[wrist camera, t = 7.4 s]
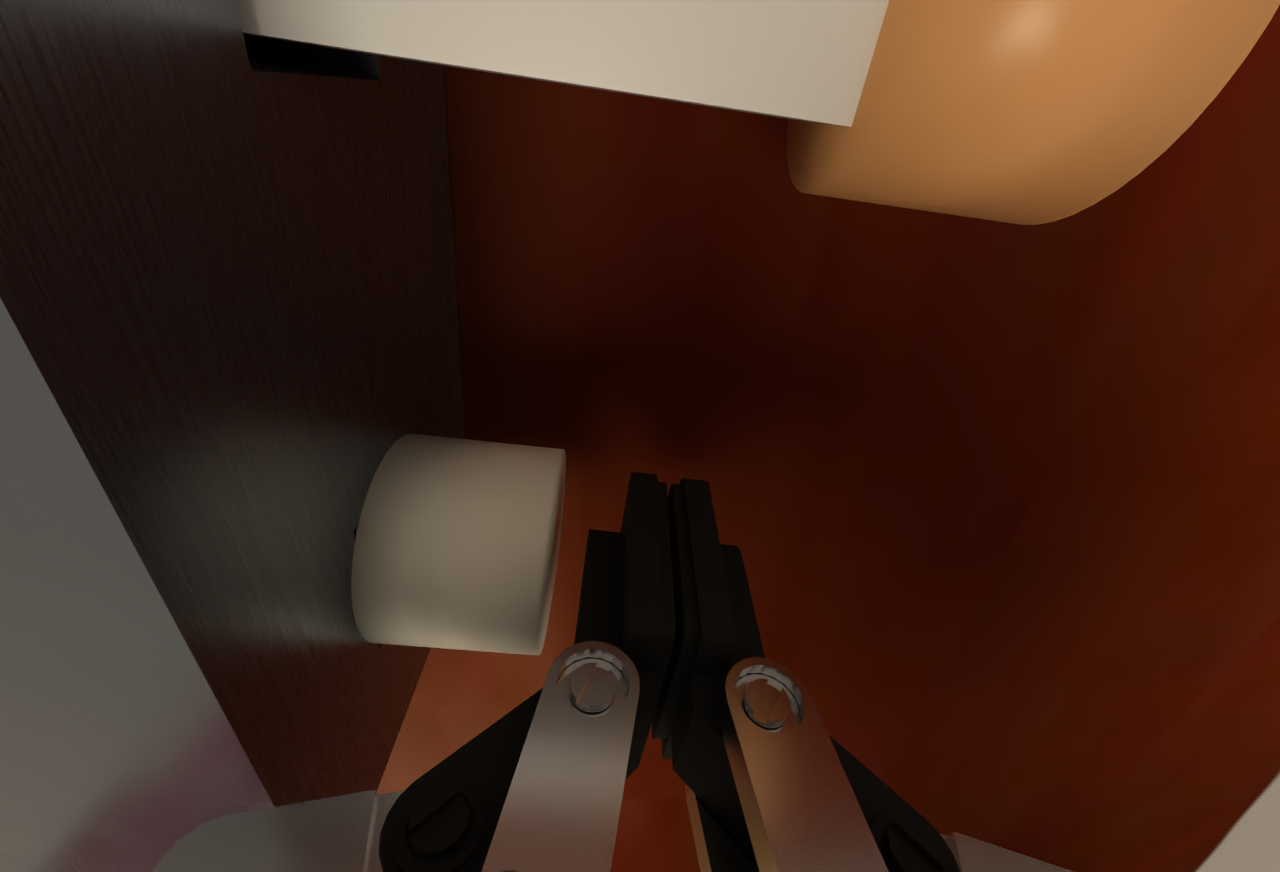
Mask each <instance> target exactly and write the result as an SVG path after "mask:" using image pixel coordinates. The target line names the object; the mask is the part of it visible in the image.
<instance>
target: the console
mask: <svg viewBox="0 0 1280 872" xmlns="http://www.w3.org/2000/svg"><path fill="white" fill-rule="evenodd" d="M407 434H421V435H431V436H440V437H450V438H460V439H465V422H464V405H463V388H462V372H461V355H460V338H459V321H458V304H457V288H456V271H455V254H454V237H453V220H452V204H451V187H450V170H449V153H448V136H447V120H446V103H445V86H444V69H443V65H438V64H432V63H425V62H419V61H412V60H406V59H399V58H393V57H387V56H380V55H374V54H367V53H361V52H354V51H348V50H342V49H335V48H329V47H322V46H316V45H309V44H303V43H296V42H290V41H284V40H277V39H271V38H264V37H258V36H251V35H245V34H243V32H242V27H241V23H240V18H239V14H238V9H237V5H236V0H0V872H153V870H154V868H155V867H156V865H157V863H158V862H159V860H160V859H161V858H162V857H163V856H164V855H165V854H166V853H167V851H168V850H169V849H170V848H171V847H172V846H173V845H174V844H175V843H176V842H177V841H178V840H179V839H180V838H182V837H183V836H185V835H186V834H188V833H189V832H191V831H192V830H194V829H195V828H197V827H198V826H200V825H201V824H203V823H205V822H208V821H211V820H214V819H217V818H220V817H223V816H226V815H231V814H237V813H242V812H248V811H254V810H260V809H265V808H271V807H277V806H283V805H289V804H294V803H300V802H306V801H312V800H317V799H323V798H329V797H335V796H341V795H346V794H352V793H358V792H364V791H370V790H375V789H376V792H377V789H378V786H379V784H380V781H381V778H382V776H383V773H384V770H385V768H386V765H387V762H388V760H389V757H390V754H391V752H392V749H393V746H394V744H395V741H396V739H397V736H398V733H399V731H400V728H401V725H402V723H403V720H404V717H405V715H406V712H407V709H408V707H409V704H410V701H411V699H412V696H413V693H414V691H415V688H416V685H417V683H418V680H419V677H420V675H421V672H422V670H423V667H424V664H425V662H426V659H427V656H428V654H429V651H430V648H431V647H419V646H406V645H392V644H379V643H370V642H368V641H366V640H365V639H364V638H363V637H362V636H361V634H360V632H359V630H358V628H357V625H356V622H355V618H354V613H353V608H352V597H351V574H352V561H353V552H354V545H355V535H354V530H355V528H356V527H357V525H358V524H359V520H360V516H361V512H362V509H363V505H364V502H365V498H366V496H367V493H368V490H369V487H370V484H371V482H372V480H373V477H374V475H375V473H376V471H377V469H378V467H379V465H380V463H381V461H382V459H383V458H384V456H385V455H386V453H387V452H388V450H389V449H390V448H391V446H392V445H393V444H394V443H395V442H396V441H397V440H398V439H399V438H401V437H403V436H404V435H407Z"/></svg>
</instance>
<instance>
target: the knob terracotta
mask: <svg viewBox="0 0 1280 872" xmlns="http://www.w3.org/2000/svg"><path fill="white" fill-rule="evenodd" d="M236 5H237V9H238V14H239V18H240V23H241V27H242V32H243V34H245V35H251V36H258V37H264V38H271V39H277V40H284V41H290V42H296V43H303V44H309V45H316V46H322V47H329V48H335V49H342V50H348V51H354V52H361V53H367V54H374V55H380V56H387V57H393V58H399V59H406V60H412V61H419V62H425V63H432V64H438V65H445V66H451V67H457V68H464V69H470V70H477V71H483V72H490V73H496V74H503V75H509V76H515V77H522V78H528V79H535V80H541V81H548V82H554V83H561V84H567V85H573V86H580V87H586V88H593V89H599V90H606V91H612V92H618V93H625V94H631V95H638V96H644V97H651V98H657V99H664V100H670V101H676V102H683V103H689V104H696V105H702V106H709V107H715V108H722V109H728V110H734V111H741V112H747V113H754V114H760V115H767V116H773V117H779V118H786V119H788V120H787V163H788V169H789V174H790V178H791V181H792V183H793V185H794V186H795V188H796V189H797V190H798V191H799V192H802V193H806V194H813V195H820V196H827V197H834V198H841V199H848V200H855V201H861V202H868V203H875V204H882V205H889V206H896V207H903V208H910V209H917V210H924V211H931V212H937V213H944V214H951V215H958V216H965V217H972V218H979V219H986V220H993V221H1000V222H1006V223H1013V224H1020V225H1038V224H1043V223H1049V222H1054V221H1057V220H1060V219H1062V218H1065V217H1068V216H1071V215H1074V214H1076V213H1078V212H1080V211H1082V210H1084V209H1086V208H1088V207H1090V206H1092V205H1094V204H1095V203H1097V202H1099V201H1100V200H1102V199H1104V198H1105V197H1107V196H1108V195H1110V194H1112V193H1113V192H1115V191H1116V190H1118V189H1119V188H1120V187H1122V186H1123V185H1124V184H1126V183H1127V182H1129V181H1130V180H1131V179H1133V178H1134V177H1135V176H1137V175H1138V174H1139V173H1140V172H1142V171H1143V170H1144V169H1145V168H1146V167H1147V166H1149V165H1150V164H1151V163H1152V162H1153V161H1154V160H1155V159H1157V158H1158V157H1159V156H1160V155H1161V154H1162V153H1164V152H1165V151H1166V150H1167V149H1168V148H1169V147H1170V146H1171V145H1172V144H1173V143H1174V142H1175V141H1176V140H1177V139H1178V138H1179V137H1180V136H1181V135H1182V134H1183V133H1184V132H1185V131H1186V130H1187V129H1188V128H1189V127H1190V126H1191V125H1192V124H1193V122H1194V121H1195V120H1196V119H1197V118H1198V117H1199V116H1200V114H1201V113H1202V112H1203V111H1204V110H1205V109H1206V108H1207V106H1208V105H1209V104H1210V103H1211V102H1212V101H1213V100H1214V98H1215V97H1216V96H1217V95H1218V94H1219V93H1220V91H1221V90H1222V89H1223V87H1224V86H1225V85H1226V83H1227V82H1228V81H1229V80H1230V78H1231V77H1232V76H1233V74H1234V73H1235V72H1236V70H1237V69H1238V68H1239V66H1240V65H1241V64H1242V63H1243V61H1244V60H1245V58H1246V57H1247V55H1248V54H1249V52H1250V51H1251V49H1252V48H1253V46H1254V45H1255V43H1256V42H1257V40H1258V39H1259V37H1260V36H1261V34H1262V33H1263V31H1264V30H1265V28H1266V27H1267V25H1268V24H1269V22H1270V21H1271V19H1272V17H1273V15H1274V14H1275V12H1276V10H1277V8H1278V6H1279V5H1280V0H236Z"/></svg>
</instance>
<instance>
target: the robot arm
mask: <svg viewBox="0 0 1280 872" xmlns="http://www.w3.org/2000/svg"><path fill="white" fill-rule="evenodd" d="M651 722H652V737H653V739H661V740H662V757H663V759H672V761H673V770H674V771H675V772H676V773H677V774H678V776H679V777H680V778H681V779H682V780H683V781H684V782H685V783H686V784H685V788H686V800H687V805H688V810H689V815H690V820H691V825H692V830H693V835H694V840H695V845H696V850H697V855H698V861H699V866H700V871H701V872H1073V871H1070V870H1067V869H1064V868H1061V867H1058V866H1055V865H1052V864H1049V863H1046V862H1043V861H1040V860H1037V859H1034V858H1031V857H1028V856H1025V855H1022V854H1019V853H1016V852H1013V851H1010V850H1007V849H1004V848H1001V847H998V846H995V845H992V844H989V843H986V842H983V841H980V840H977V839H974V838H971V837H968V836H965V835H962V834H959V833H956V832H952V833H951V834H950V835H949V836H946V835H943V834H940V833H939V832H938V831H937V830H936V829H935V828H934V827H933V826H932V825H931V824H930V823H929V822H928V821H927V820H926V819H925V818H924V817H923V816H922V815H920V814H919V813H918V812H917V811H916V810H915V809H913V808H912V807H911V806H910V805H909V804H908V803H907V802H905V801H904V800H903V799H902V798H901V797H900V796H898V795H897V794H896V793H895V792H894V791H893V790H892V789H890V788H889V787H888V786H887V785H886V784H885V783H883V782H882V781H881V780H880V779H879V778H878V777H877V776H875V775H874V774H873V773H872V772H871V771H870V770H869V769H867V768H866V767H865V766H864V765H863V764H862V763H860V762H859V761H858V760H857V759H856V758H855V757H854V756H852V755H851V754H850V753H849V752H848V751H847V750H845V749H844V748H843V747H842V746H841V745H840V744H839V743H837V742H836V741H835V740H834V739H833V738H832V737H830V736H829V735H828V733H827V730H826V728H825V726H824V723H823V721H822V719H821V717H820V714H819V712H818V710H817V707H816V705H815V703H814V701H813V698H812V696H811V694H810V692H809V691H808V689H807V687H806V686H805V684H804V682H803V681H802V680H801V679H800V678H799V677H798V676H797V675H796V674H795V673H794V672H793V671H792V670H790V669H789V668H787V667H786V666H784V665H783V664H781V663H779V662H777V661H774V660H771V659H769V658H765V656H764V651H763V647H762V643H761V638H760V634H759V629H758V625H757V621H756V616H755V612H754V607H753V603H752V599H751V594H750V590H749V585H748V581H747V576H746V572H745V568H744V563H743V559H742V555H741V552H740V549H739V548H738V547H737V546H731V545H722V544H720V542H719V537H718V531H717V526H716V520H715V515H714V509H713V504H712V498H711V493H710V487H709V483H708V482H707V481H701V480H693V479H685V478H682V479H681V481H680V485H679V484H671V487H670V490H669V495H668V499H667V486H666V483H662V482H658V478H657V475H652V474H644V473H636V472H632V473H631V476H630V482H629V487H628V493H627V499H626V504H625V510H624V515H623V521H622V527H621V532H620V533H617V532H609V531H600V530H591V529H589V534H588V541H587V548H586V556H585V563H584V571H583V579H582V586H581V594H580V602H579V610H578V619H577V627H576V635H575V643H574V645H572V646H571V647H569V648H567V649H565V650H564V651H563V652H562V653H561V654H560V655H559V656H558V657H556V658H555V660H554V662H553V664H552V666H551V668H550V670H549V672H548V675H547V678H546V681H545V684H544V687H543V688H542V689H541V690H539V691H538V692H537V693H535V694H534V695H532V696H531V697H530V698H528V699H527V700H526V701H524V702H523V703H521V704H520V705H519V706H517V707H516V708H515V709H513V710H512V711H510V712H509V713H508V714H506V715H505V716H504V717H502V718H501V719H500V720H498V721H497V722H495V723H494V724H493V725H491V726H490V727H489V728H487V729H486V730H484V731H483V732H482V733H480V734H479V735H478V736H476V737H475V738H473V739H472V740H471V741H469V742H468V743H467V744H465V745H464V746H463V747H461V748H460V749H458V750H457V751H456V752H454V753H453V754H452V755H450V756H449V757H447V758H446V759H445V760H443V761H442V762H441V763H439V764H438V765H436V766H435V767H434V768H432V769H431V770H430V771H428V772H427V773H425V774H424V775H423V776H421V777H420V778H419V779H417V780H416V781H415V782H413V783H412V784H411V785H410V786H409V787H408V788H407V789H406V790H404V791H398V792H393V793H387V794H381V795H377V794H376V789H375V790H370V791H364V792H358V793H352V794H346V795H341V796H335V797H329V798H323V799H317V800H312V801H306V802H300V803H294V804H289V805H283V806H277V807H271V808H265V809H260V810H254V811H248V812H242V813H237V814H231V815H226V816H223V817H220V818H217V819H214V820H211V821H208V822H205V823H203V824H201V825H200V826H198V827H197V828H195V829H194V830H192V831H191V832H189V833H188V834H186V835H185V836H183V837H182V838H180V839H179V840H178V841H177V842H176V843H175V844H174V845H173V846H172V847H171V848H170V849H169V850H168V851H167V853H166V854H165V855H164V856H163V857H162V858H161V859H160V860H159V862H158V863H157V865H156V867H155V868H154V870H153V872H610V869H611V863H612V857H613V851H614V845H615V839H616V833H617V827H618V820H619V814H620V808H621V802H622V796H623V790H624V784H625V780H626V779H627V778H628V777H629V776H630V775H631V774H632V773H633V772H634V771H635V770H636V769H637V768H638V766H639V763H640V760H641V756H642V753H643V749H644V746H645V743H646V739H647V736H648V733H649V729H650V726H651Z"/></svg>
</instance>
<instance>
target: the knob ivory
mask: <svg viewBox="0 0 1280 872" xmlns="http://www.w3.org/2000/svg"><path fill="white" fill-rule="evenodd" d="M565 477H566V453H565V449H556V448H546V447H537V446H527V445H517V444H508V443H498V442H488V441H479V440H469V439H460V438H450V437H440V436H431V435H421V434H407V435H404V436H403V437H401V438H399V439H398V440H397V441H396V442H395V443H394V444H393V445H392V446H391V448H390V449H389V450H388V452H387V453H386V455H385V456H384V458H383V459H382V461H381V463H380V465H379V467H378V469H377V471H376V473H375V475H374V477H373V480H372V482H371V484H370V487H369V490H368V493H367V496H366V498H365V502H364V505H363V509H362V512H361V516H360V520H359V524H358V525H357V527H356V528H355V530H354V535H355V545H354V552H353V561H352V574H351V597H352V608H353V613H354V618H355V622H356V625H357V628H358V630H359V632H360V634H361V636H362V637H363V638H364V639H365V640H366V641H368V642H370V643H379V644H392V645H406V646H419V647H433V648H446V649H459V650H473V651H486V652H500V653H513V654H526V655H540V654H541V651H542V648H543V645H544V640H545V636H546V631H547V626H548V620H549V615H550V609H551V603H552V596H553V590H554V583H555V576H556V568H557V560H558V552H559V544H560V535H561V526H562V516H563V505H564V493H565Z"/></svg>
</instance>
